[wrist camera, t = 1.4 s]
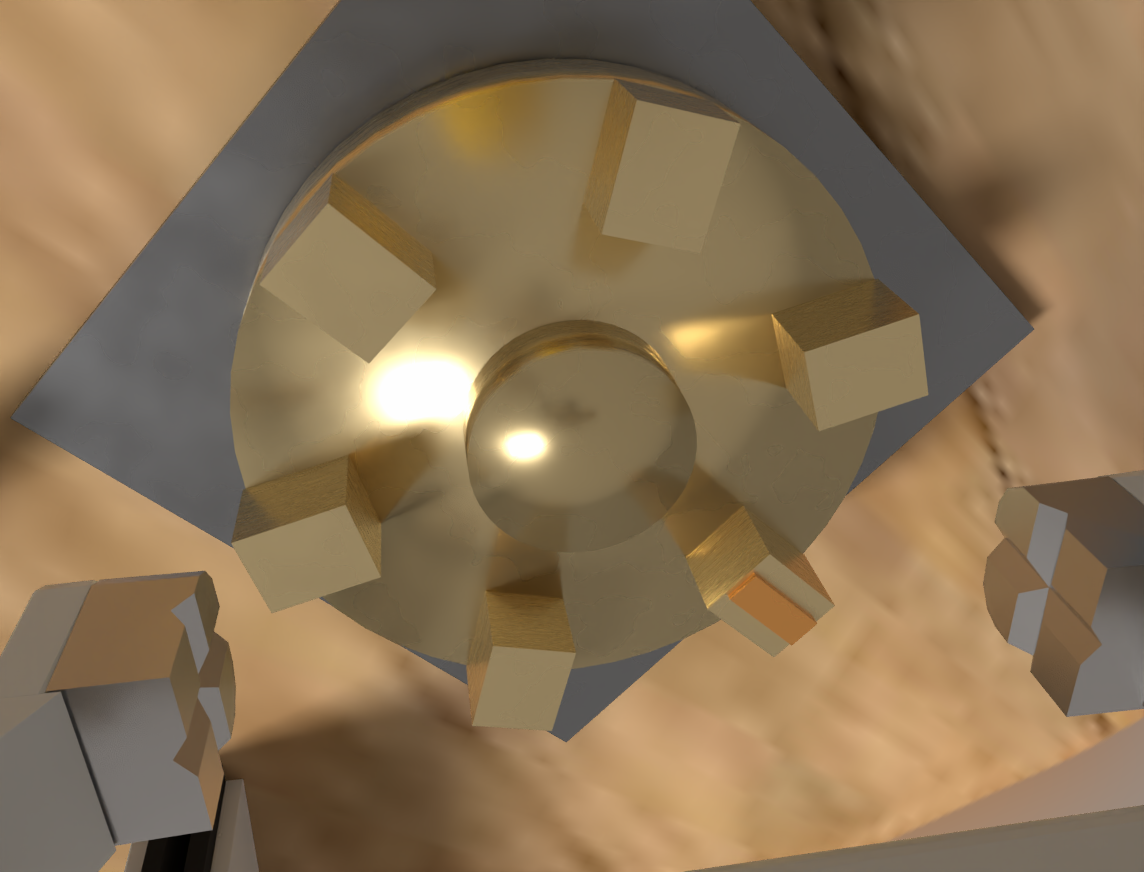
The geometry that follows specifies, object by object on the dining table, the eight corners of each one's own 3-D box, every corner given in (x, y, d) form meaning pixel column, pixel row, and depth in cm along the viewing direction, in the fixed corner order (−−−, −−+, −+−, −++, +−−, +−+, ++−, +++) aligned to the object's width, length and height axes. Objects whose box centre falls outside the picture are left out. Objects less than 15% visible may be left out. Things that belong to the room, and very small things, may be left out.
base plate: (18, 405, 30) (9, 419, 29) (532, -244, 24) (537, -248, 23) (563, 726, 39) (566, 744, 39) (1021, 319, 34) (1036, 330, 33)
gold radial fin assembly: (113, 412, 29) (59, 524, 24) (542, -106, 25) (581, -96, 20) (565, 690, 37) (593, 817, 32) (954, 338, 32) (1056, 424, 28)
